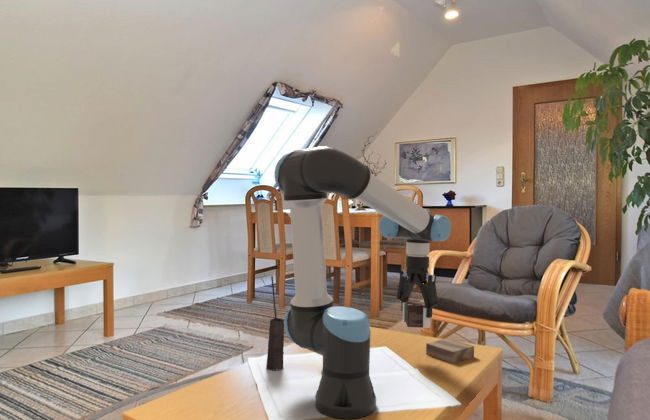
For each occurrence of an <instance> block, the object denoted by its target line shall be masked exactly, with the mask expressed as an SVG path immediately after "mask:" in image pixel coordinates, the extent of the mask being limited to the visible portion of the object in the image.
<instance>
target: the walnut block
mask: <svg viewBox="0 0 650 420" xmlns="http://www.w3.org/2000/svg"><path fill="white" fill-rule="evenodd" d="M425 344H426V346H425V348H426V349H425V352H426V353H425V354H426V355H427V356H431V357H433V358H436V359H439V360H443V361H445V362H446V363H447V362H448V363H452V364H455V363H459V362H462V361H465V360H468V359H471V358H474V357H475V346H474V345H472V344H468V343H465V342H462V341H458V340H455V339H452V338H448V337H447V338H442V339H439V340H435V341H430V342H427V343H425Z"/></svg>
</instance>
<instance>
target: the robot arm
mask: <svg viewBox="0 0 650 420" xmlns="http://www.w3.org/2000/svg"><path fill="white" fill-rule="evenodd" d="M274 181H275V185H276V186H277V187H278V188H279V190H280V191H281V192H283V193H282V194H283V202H284V203H285V204H286V205H287V206H288V207H289V212H290V225H291V226H290V227H291V241H292V242H291V243H292V259H293V262H292V263H293V274H294V291H295V292H294V293H295V295H294V296H293V297H292V298H291V300H290V302H289V303H290V307H289V308H288V310H287V312H286V313H285V315H284V333H286V336H287V338H288V339H289V340H290V341H291V342H292V343H293V344H295V345H297V346H298V347H300V348H302V349H306V350H309V351H311V352H313V353H315V354H318V355H320V356H322V375H321V378H320V381H319V384H318V388H317V390H316V393H315V398H314V399H315V401H314V402H315V403H314V404H315V408H316V409H317V410H318V411H319V412H320V413H321V414H324V415H326V416H329V417H331V418H337V419H351V420H352V419H358V418H363V417H366V416H369V415H371V414H373V413H374V412H375V411H376V408H377V397H376V393H375V390H374V386H373V383H372V379H371V376H370V361H371V360H370V356H371V355H370V354H371V352H370V351H371V332H372V331H371V328H370V326H371V325H370V319H369V317H368V315H367V314H366V313H365V312H363V311H361V310H359V309H356V308H355V307H347V306H343V305H342V306H337V305H335V306H334V298H333V297H332V295H330V294H329V293H328V290H327V273H326V272H327V270H326V255H325V254H326V252H325V237H324V235H325V234H324V222H323V221H324V220H323V219H324V218H323V205H324V203H326V201H327V200H328V193H329V194H336V195H339V196H342V197H344V198H346V199H348V200H349V201H350V200H356V201H359V202H361V203H362V204H364V205H366V206H367V207H368V208H371V209H372V210H374V211H376V212H378V213H379V214H381V215H382V216H381V217H380V219H379V222H378V231H379V233H380V235H381V236H382V237H384V238H386V239H393V240H394V239H404V240H406V246H405V247H406V249H405V254H406V256H405V266H406V267H407V268H406V269H403V270H400V271H399V282H398V287H397V293H396V299H397V300H400V302H401V307H400V308H401V309H400V310H401V312H402V319H401V320H402V321H401V322H402V323H406V302H407V301H408V302H410V300H409V299H410V296H411V295H412V291H413V289H414V286H415V285H417V286H418V288H419V289H420V292H421V296H422V299H423V302H424V303H425V307H423V328H422V329H428V328H431V318H432V317H433V307H438V305H439V302H438V294H437V286H436V279H437V275H436V274H430V273H429V271H428V270H429V268H430V257H429V256H428V255H430V244H431V243H430V241H431V242H443V241H446V240H447V239H448V238H449V237H450V235H451V231H452V223H451V221H450V219H449V218H448V217H447V216H446V215H441V214H434V213H432V212H431V210H430V209H428V208H424V207H421V206H420V205H419V204H417V203H416V202H414V201H413V200H412V199H410V198H408V197H407V196H405V195H403V194H402V193H401V192H399V191H398V190H396V189H395V188H393V187H392V186H390V185H389V184H388V183H386V182H385V181H383V180H381V179H380V178H378V177H377V176H376V175H374V174H372V170H371V168H370V167H369V166H367V165H366V164H365V163H363V162H362V161H360V160H358V159H357V158H355V157H353V156H352V155H351V154H350V155H349V154H348V153H345V152H344V151H342V150H339V149H337V148H333V147H331V146H325V145H324V146H316V147H312V148H311V147H310V148H302V149H295V150H293V151H289V152H287V153H285V154H283V155H282V156H281V157H280V159H279V160H278V161H277V163H276V165H275V168H274Z"/></svg>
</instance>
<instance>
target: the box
mask: <svg viewBox="0 0 650 420" xmlns="http://www.w3.org/2000/svg"><path fill="white" fill-rule="evenodd" d="M423 307H425V303H424V301H422V302H421V301H407V302H406V322H405V324H406V327H407V328H422V329H424V328H423Z"/></svg>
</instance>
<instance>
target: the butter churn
mask: <svg viewBox="0 0 650 420" xmlns="http://www.w3.org/2000/svg"><path fill="white" fill-rule="evenodd" d="M270 279H271V286H272V287H271V288H272V298H273V301H272V302H273V310H274V311H273V312H274V317H273V318H272V319H271V318H270V320H269V321H270V322H269V329H268V330H269V331H268V332H269V333H268V340H267V341H268V344H267V357H266V366H265V367H266V369H267V370H269V371H280V370H282V369H284V353H285V352H284V346H285V345H284V343H285V328H284V319H285V318H284V319H282V318H278V316H277V307H276V299H275V297H276V296H275V287H274V286H275V285H274V277H273V275H271V278H270Z"/></svg>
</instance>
